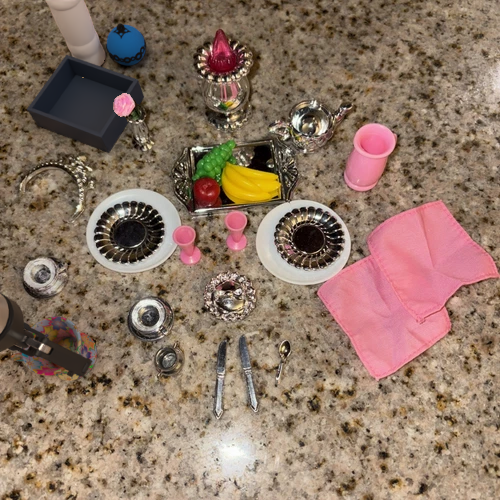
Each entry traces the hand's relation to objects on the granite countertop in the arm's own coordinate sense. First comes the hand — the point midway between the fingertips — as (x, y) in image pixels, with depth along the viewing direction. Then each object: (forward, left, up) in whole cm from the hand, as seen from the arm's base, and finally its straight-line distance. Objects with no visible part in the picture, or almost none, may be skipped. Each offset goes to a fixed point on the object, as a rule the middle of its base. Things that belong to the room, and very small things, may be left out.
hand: (50, 351), depth 79 cm
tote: (-23, +48, -8) cm, 54 cm away
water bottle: (-31, +61, -8) cm, 68 cm away
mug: (0, 0, -8) cm, 8 cm away
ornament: (-22, +64, -8) cm, 68 cm away
